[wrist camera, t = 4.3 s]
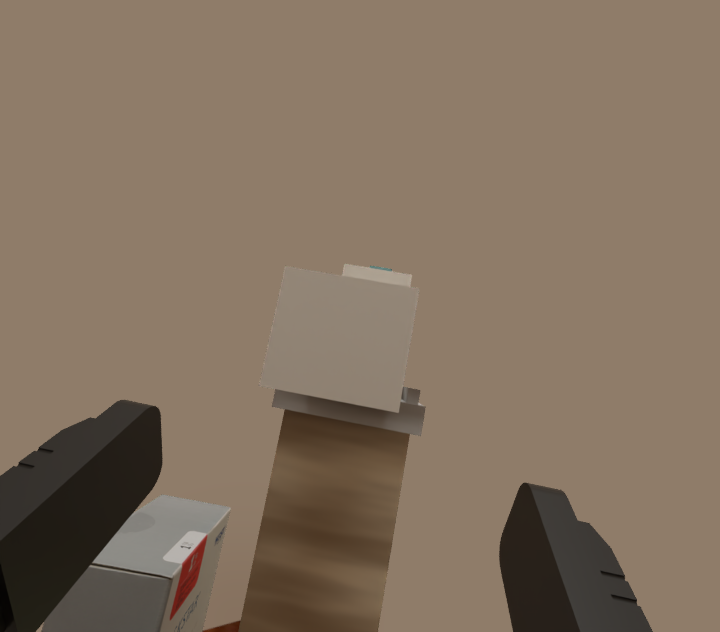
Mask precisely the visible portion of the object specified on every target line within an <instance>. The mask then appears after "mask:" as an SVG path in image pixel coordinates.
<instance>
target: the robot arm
mask: <svg viewBox="0 0 720 632" xmlns="http://www.w3.org/2000/svg"><path fill="white" fill-rule="evenodd" d="M161 468H162V439H161V415H160V411H159V409H158V408H157V407H156V406H151V405H147V404H142V403H137V402H132V401H128V400H120V401H118V402H116V403H115V404H113V405H112V406H111V407H109V408H108V409H107V410H106V411H104V412H103V413H102V414H101V415H99V416H98V417H97V418H96V419H95V418H88V419H86V420H84V421H82V422H79V423H77V424H75V425H72V426H70V427H68V428H66V429H63V430H61V431H60V432H59V433H58V434H56V435H55V436H53V437H52V438H51V439H50V440H48V441H47V442H45V443H44V444H43V445H41V446H40V447H39V449H38V451H34V452H32V453H31V454H29V455H28V456H27V457H25V458H24V459H23V460H21V461H20V462H19V464H18V466H17V467H15V466H13V467H12V468H10V469H9V470H8V471H6V472H5V473H4V474H3V475H1V476H0V632H36V630H37V629H38V628H39V627H40V625H41V624H42V623H43V622H44V621H45V620H46V618H47V617H48V616H49V615H50V613H51V612H52V611H53V610H54V609H55V607H56V606H57V605H58V604H59V603H60V601H61V600H62V599H63V598H64V596H65V595H66V594H67V593H68V592H69V590H70V589H71V588H72V587H73V585H74V584H75V583H76V582H77V581H78V579H79V578H80V577H81V576H82V574H83V573H84V572H85V571H86V570H87V568H88V567H89V566H90V565H91V563H92V562H93V561H94V560H95V559H96V557H97V556H98V555H99V554H100V552H101V551H102V550H103V549H104V548H105V546H106V545H107V544H108V543H109V541H110V540H111V539H112V538H113V537H114V535H115V534H116V533H117V532H118V531H119V529H120V528H121V527H122V526H123V524H124V523H125V522H126V521H127V520H128V518H129V517H130V516H131V515H132V513H133V512H134V511H135V510H136V509H137V507H138V506H139V505H140V504H141V502H142V501H143V500H144V499H145V498H146V496H147V495H148V494H149V493H150V491H151V490H152V489H153V487H154V486H155V484H156V482H157V480H158V477H159V475H160V472H161ZM499 552H500V553H499V555H500V556H499V557H500V567H501V574H502V579H503V583H504V588H505V593H506V598H507V603H508V608H509V613H510V618H511V623H512V628H513V632H653V631H652V629H651V627H650V625H649V623H648V621H647V619H646V617H645V615H644V613H643V611H642V609H641V607H640V606H637V599H636V597H635V595H634V593H633V591H632V589H631V587H630V585H629V583H628V582H627V581H625V575H624V573H623V571H622V569H621V567H620V565H619V563H618V561H617V559H616V557H615V555H614V553H613V551H612V549H611V548H610V546H608V544H607V543H606V542H605V541H604V540H603V539H602V537H601V536H600V535H599V534H598V533H597V532H596V531H595V529H594V528H593V527H592V526H591V525H590V524H589V523H586V522H581V521H578V520H577V518H576V516H575V514H574V511H573V509H572V507H571V505H570V502H569V500H568V498H567V496H566V495H565V493H564V492H563V491H561V490H558V489H553V488H548V487H543V486H539V485H534V484H529V483H523V484H522V485H521V486H520V488H519V490H518V493H517V496H516V498H515V501H514V504H513V507H512V509H511V512H510V514H509V517H508V520H507V522H506V525H505V528H504V530H503V533H502V537H501V541H500V551H499Z"/></svg>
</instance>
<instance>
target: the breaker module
mask: <svg viewBox="0 0 720 632" xmlns="http://www.w3.org/2000/svg"><path fill="white" fill-rule="evenodd" d="M411 278H412V275H410V274H404V273H398V272H392V269H388V268H381V267H375V266H370V268H368V267H361V266H355V265H349V264H344V269H343V274H342V275H336V274H330V273H324V272H318V271H312V270H306V269H300V268H294V267H288V266H285V269H284V273H283V278H282V283H281V287H280V292H279V297H278V301H277V305H276V310H275V314H274V319H273V323H272V328H271V333H270V337H269V342H268V346H267V351H266V355H265V360H264V364H263V369H262V373H261V378H260V382H259V386H262V387H267V388H273V389H278V390H283V391H288V392H293V393H298V394H303V395H309V396H314V397H319V398H324V399H329V400H334V401H340V402H345V403H350V404H355V405H360V406H365V407H371V408H376V409H381V410H386V411H391V412H396V413H399V408H400V402H401V396H402V390H403V383H404V378H405V372H406V366H407V359H408V354H409V348H410V342H411V336H412V330H413V324H414V318H415V312H416V306H417V300H418V294H419V288H414V287H410V284H411Z"/></svg>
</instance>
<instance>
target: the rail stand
mask: <svg viewBox="0 0 720 632" xmlns="http://www.w3.org/2000/svg"><path fill="white" fill-rule="evenodd" d="M419 395H420V390H417V389H412V388H406V387H403V390H402V396H401V402H400V408H399V413H396V412H391V411H386V410H381V409H376V408H371V407H365V406H360V405H355V404H350V403H345V402H340V401H334V400H329V399H324V398H319V397H314V396H309V395H303V394H298V393H293V392H288V391H283V390H278V389H275V394H274V399H273V403H272V407H277V408H282V409H285V411H284V416H283V421H282V426H281V430H280V435H279V440H278V445H277V450H276V455H275V460H274V464H273V469H272V474H271V478H270V483H269V488H268V493H267V497H266V503H265V507H264V512H263V517H262V522H261V526H260V531H259V536H258V541H257V545H256V550H255V555H254V560H253V565H252V569H251V574H250V579H249V584H248V588H247V593H246V598H245V603H244V608H243V612H242V617H241V622H240V627H239V632H378V627H379V620H380V614H381V608H382V602H383V596H384V589H385V583H386V577H387V571H388V565H389V558H390V553H391V547H392V540H393V534H394V528H395V522H396V516H397V509H398V503H399V497H400V491H401V485H402V478H403V473H404V466H405V460H406V454H407V447H408V442H409V435H410V434H413V435H418V436H421V432H422V426H423V420H424V413H425V406H423V405H421V404H420V403H418V402H419Z"/></svg>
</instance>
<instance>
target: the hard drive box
mask: <svg viewBox="0 0 720 632" xmlns="http://www.w3.org/2000/svg"><path fill="white" fill-rule="evenodd" d="M230 510H231V508H230V507H226V506H221V505H215V504H210V503H204V502H199V501H194V500H188V499H183V498H178V497H172V496H167V495H161V496H159V497H158V498H156V499H154V500H153V501H151V502H150V503H148V504H147V505H145V506H144V507H142V508H140V509H139V510H137V511H136V512H134V513H133V514H132V515H131V516H130V517H129V518H128V520H127V521H126V522H125V523H124V524H123V526H122V527H121V528H120V529H119V531H118V532H117V533H116V534H115V535H114V537H113V538H112V539H111V540H110V541H109V543H108V544H107V545H106V546H105V548H104V549H103V550H102V551H101V552H100V554H99V555H98V556H97V557H96V559H95V560H94V561H93V562H92V563H91V565H90V566H89V567H88V568H87V570H86V571H85V572H84V573H83V574H82V576H81V577H80V578H79V579H78V581H77V582H76V583H75V584H74V585H73V587H72V588H71V589H70V590H69V592H68V593H67V594H66V595H65V596H64V598H63V599H62V600H61V601H60V603H59V604H58V605H57V606H56V607H55V609H54V610H53V611H52V612H51V613H50V615H49V616H48V617H47V618H46V620H45V621H44V624H43V627H42V631H41V632H202V631H203V626H204V622H205V618H206V613H207V609H208V605H209V600H210V596H211V591H212V587H213V583H214V579H215V574H216V569H217V565H218V561H219V556H220V552H221V548H222V543H223V539H224V535H225V531H226V527H227V522H228V518H229V514H230Z"/></svg>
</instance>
